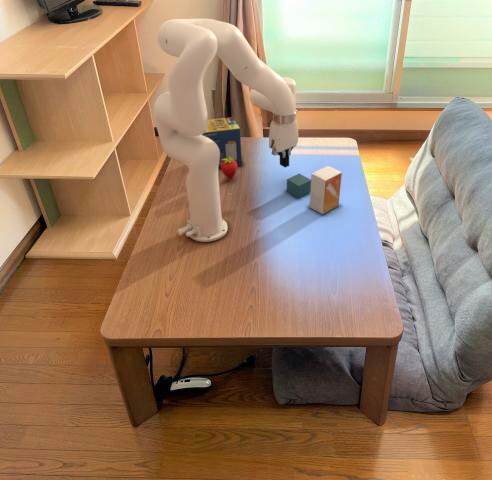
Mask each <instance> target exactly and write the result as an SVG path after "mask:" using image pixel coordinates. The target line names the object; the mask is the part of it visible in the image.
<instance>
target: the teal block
mask: <svg viewBox="0 0 492 480" xmlns="http://www.w3.org/2000/svg"><path fill="white" fill-rule="evenodd" d="M310 191H311V178H308V177H307V176H305V175H304V174H301V173H297V174H295V175H293V176H291V177H288V178H286V192H287V193H288V194H290V195H292V196H294V197H295V198H297V199H299V198H302V197H304V196H307V195H308V194H310Z"/></svg>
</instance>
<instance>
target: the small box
mask: <svg viewBox="0 0 492 480" xmlns="http://www.w3.org/2000/svg"><path fill="white" fill-rule="evenodd" d="M310 174H311V175H310V180H311V191H310V193H309V197H310V198H309V209H310V208H311V209H312V210H314V211H316V212H317V213H319V214H321V215H324V214H326V213H328V212H330V211H332V210H334V209H335V208H338V207H339V205H340V196H341V186H342V176H343V172H342V171H340V170H338V169H336V168H334V167H332V166H330V165H326V166H324V167H322V168H320V169H318V170H316V171H314V172H312V173H310Z"/></svg>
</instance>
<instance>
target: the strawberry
mask: <svg viewBox="0 0 492 480" xmlns="http://www.w3.org/2000/svg"><path fill="white" fill-rule="evenodd" d="M228 157H229V156H228ZM221 160H224V161H223V162H222V163H221V172H222V174H223V175H224V177H226V178H227V179H228V180H229V181H232V180H233V179H234V177H235V175H236V173H237V171H238V166H237V163H236V161H235V159H232V158H231V156H230V157H229V158H228V159H226V158H224V159H221Z"/></svg>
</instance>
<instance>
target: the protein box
mask: <svg viewBox="0 0 492 480" xmlns="http://www.w3.org/2000/svg"><path fill="white" fill-rule="evenodd" d="M236 120H237V119H236V118H235V116H228V117H221V118H220V117H219V118H213V119H212V118H211V119H208V127H207V130H206V131H205V132H204V133H203V134H202V135H203V136H205V137H207V138H209V139H211V140H212V141H214V142H215V143H216V144H217V146H218V148H219V150H220V159H219V167H218V170H220V169H221V163H222V162H223V161H224V160H221V159H224V158H226V159H228V158H229V157H230V156H231V158H232V159H235V161H236V163H237V167H241V166H243V161H242V141H241V139H242V138H241V137H242V136H241V127H240V126H239V124H238V122H237V121H236ZM228 156H229V157H228Z"/></svg>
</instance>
